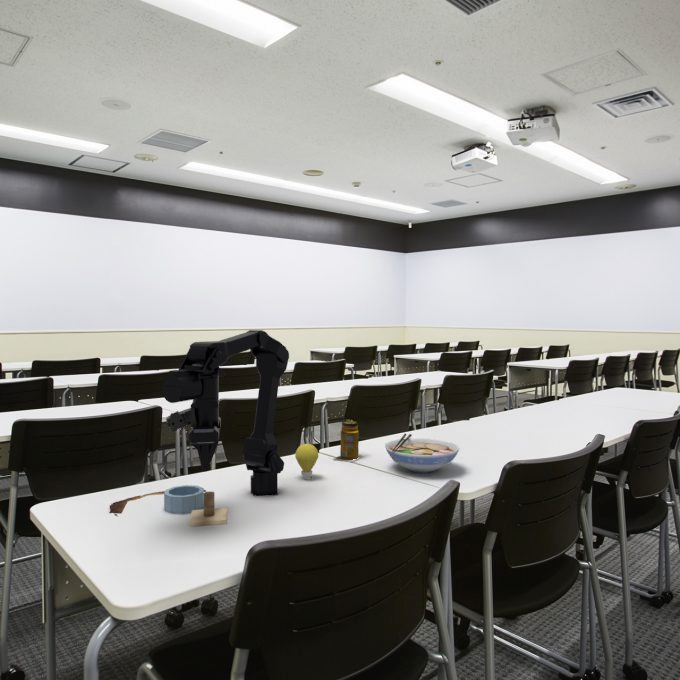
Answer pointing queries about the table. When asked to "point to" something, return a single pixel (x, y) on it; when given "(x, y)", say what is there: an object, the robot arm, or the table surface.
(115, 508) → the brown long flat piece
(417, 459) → the ramen bowl
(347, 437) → the condiment
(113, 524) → the table surface
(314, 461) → the light bulb
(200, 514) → the lid
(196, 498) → the bowl
